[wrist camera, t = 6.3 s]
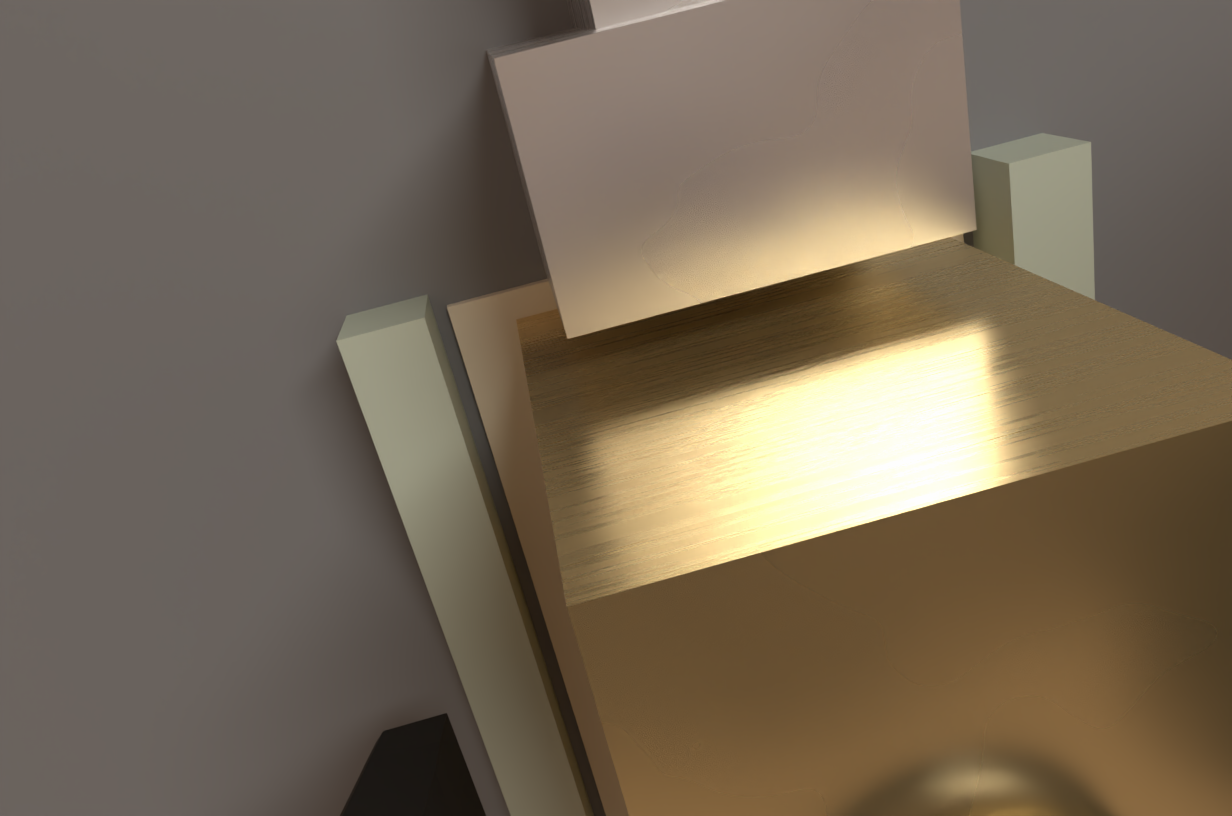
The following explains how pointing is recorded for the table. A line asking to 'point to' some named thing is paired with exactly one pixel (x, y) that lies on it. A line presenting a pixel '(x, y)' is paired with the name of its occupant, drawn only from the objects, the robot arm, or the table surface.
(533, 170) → the shafts
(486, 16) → the board
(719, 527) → the block
